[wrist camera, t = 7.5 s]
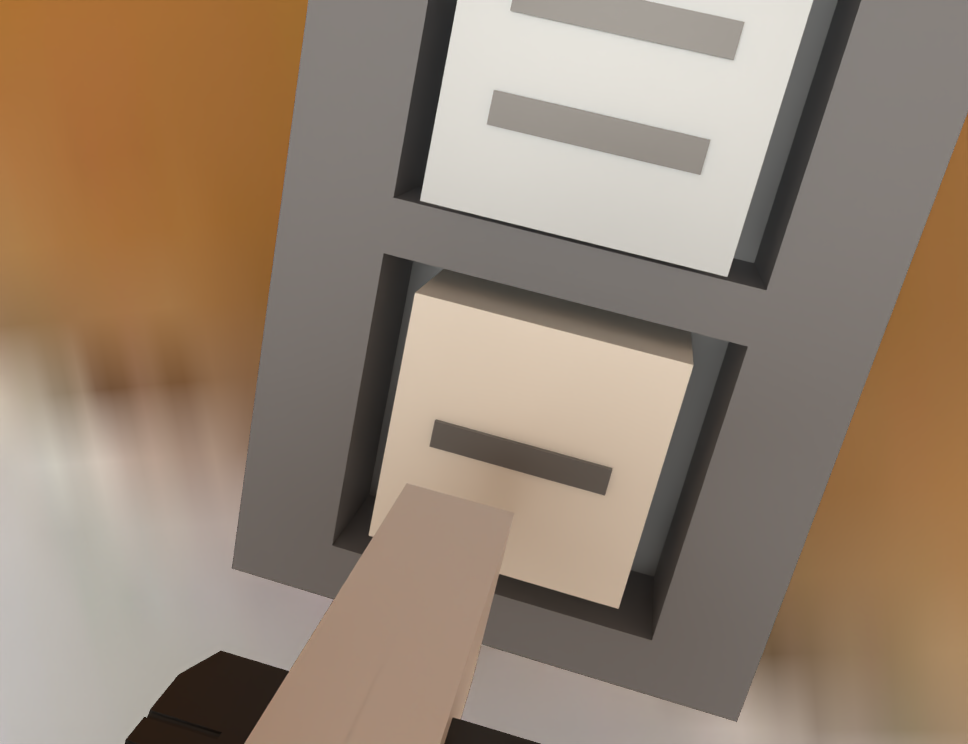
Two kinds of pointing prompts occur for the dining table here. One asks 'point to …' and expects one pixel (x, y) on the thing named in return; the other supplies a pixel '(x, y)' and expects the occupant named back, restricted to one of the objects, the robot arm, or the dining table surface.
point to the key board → (613, 287)
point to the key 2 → (614, 118)
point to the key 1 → (537, 424)
